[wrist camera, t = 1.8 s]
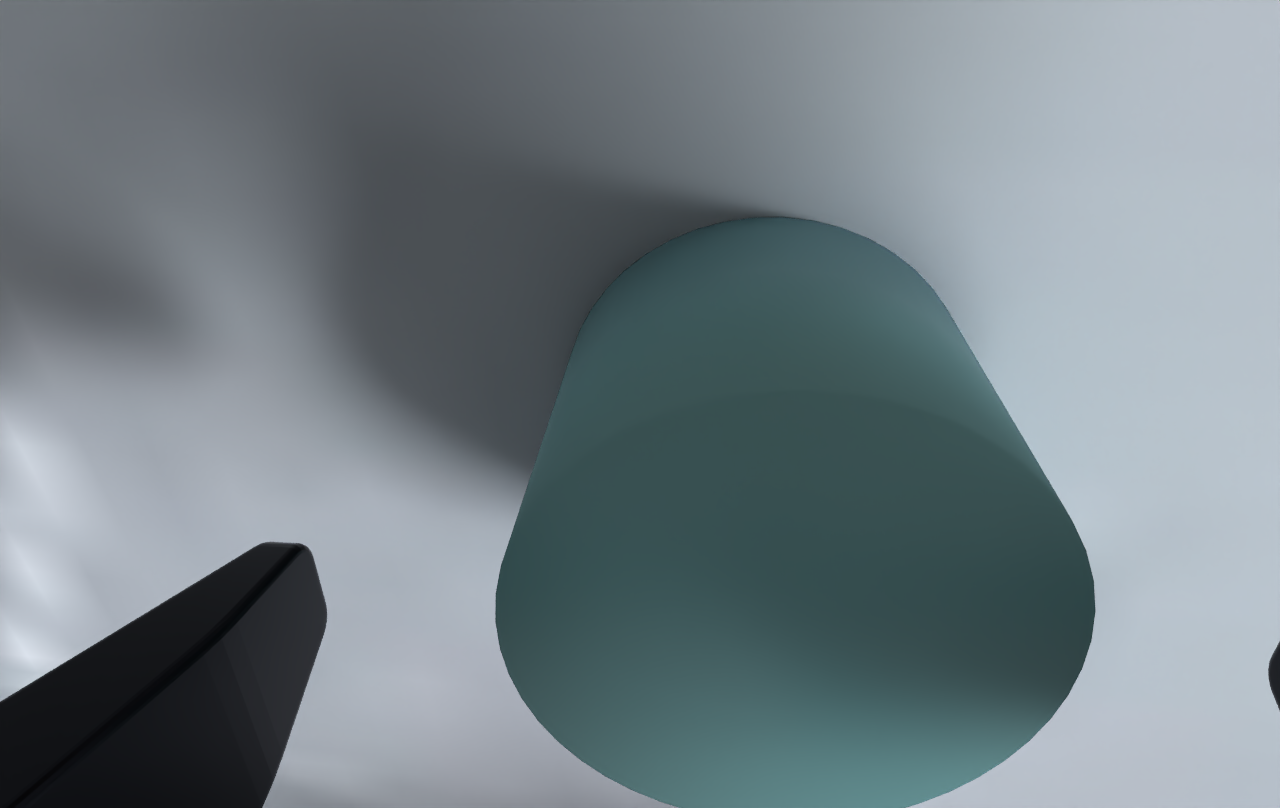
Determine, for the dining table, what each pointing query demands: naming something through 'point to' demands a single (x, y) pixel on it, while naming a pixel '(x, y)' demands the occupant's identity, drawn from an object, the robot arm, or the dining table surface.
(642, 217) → the dining table surface
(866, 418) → the teal cylinder
